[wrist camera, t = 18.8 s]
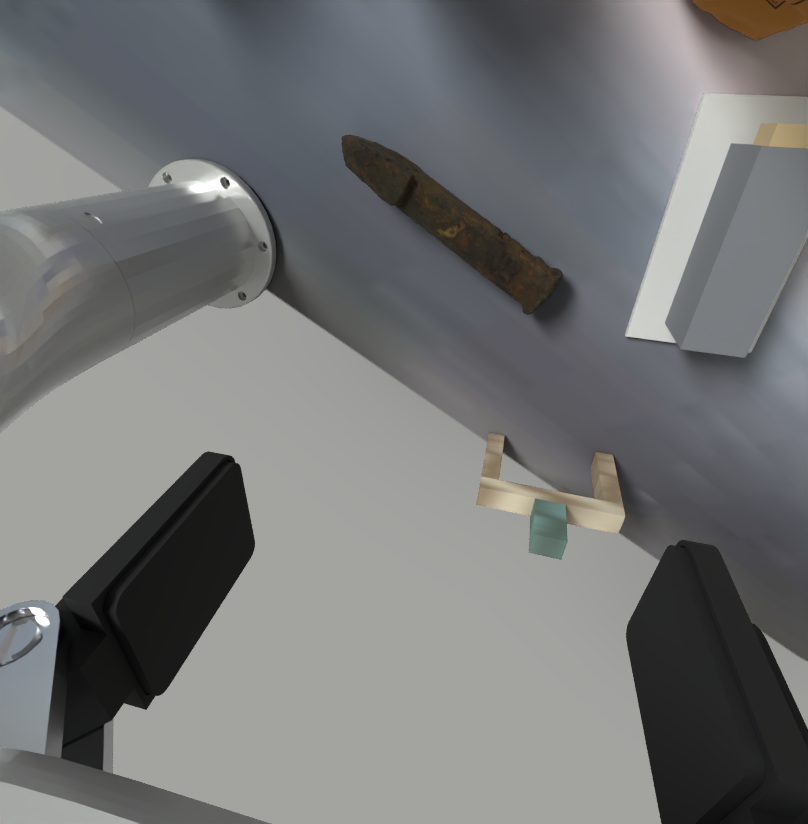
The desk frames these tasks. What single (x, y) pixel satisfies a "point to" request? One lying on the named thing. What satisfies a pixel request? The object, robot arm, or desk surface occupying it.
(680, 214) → the mat
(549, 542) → the wooden arch block
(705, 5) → the coffee package
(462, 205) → the hand tool
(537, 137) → the desk surface
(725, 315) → the grey block with cap
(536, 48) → the desk surface
